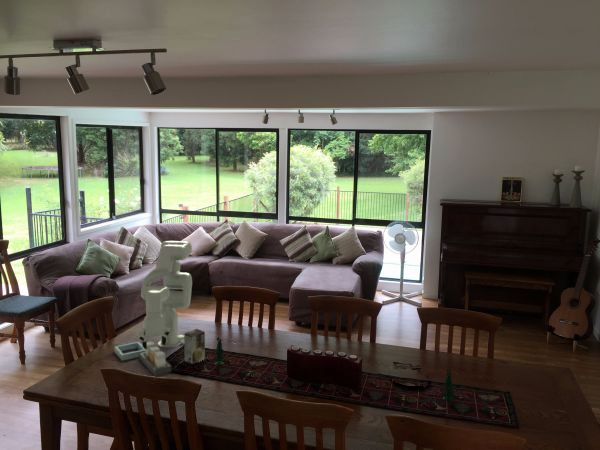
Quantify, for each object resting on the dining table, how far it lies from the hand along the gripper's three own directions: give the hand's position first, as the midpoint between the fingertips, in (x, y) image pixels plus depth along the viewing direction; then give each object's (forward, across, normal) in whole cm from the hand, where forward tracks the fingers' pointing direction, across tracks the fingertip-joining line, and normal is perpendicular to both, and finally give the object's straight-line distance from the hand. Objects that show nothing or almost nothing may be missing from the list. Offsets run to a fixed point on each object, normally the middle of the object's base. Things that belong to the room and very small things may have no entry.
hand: (154, 346), depth 257 cm
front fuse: (+10, 0, +7) cm, 13 cm away
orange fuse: (+10, 0, 0) cm, 10 cm away
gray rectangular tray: (+11, 0, 0) cm, 11 cm away
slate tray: (+11, +6, -21) cm, 24 cm away
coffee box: (+11, -20, +4) cm, 24 cm away
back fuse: (+10, 0, -8) cm, 13 cm away
